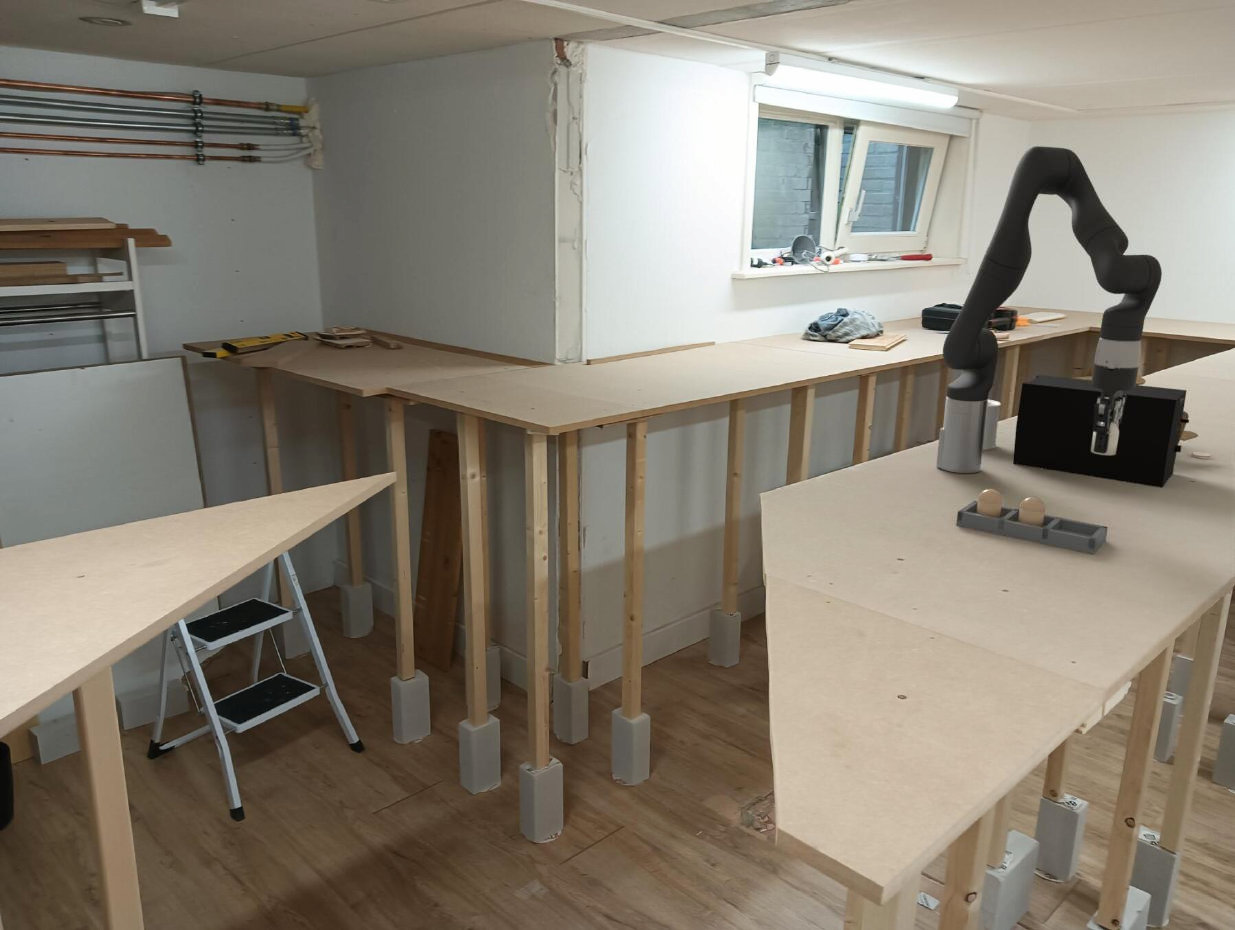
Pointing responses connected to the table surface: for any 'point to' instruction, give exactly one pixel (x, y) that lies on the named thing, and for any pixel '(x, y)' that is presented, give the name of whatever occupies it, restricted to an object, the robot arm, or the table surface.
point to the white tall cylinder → (991, 425)
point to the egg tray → (1037, 529)
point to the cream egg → (1112, 440)
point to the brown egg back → (989, 503)
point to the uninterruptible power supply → (1063, 431)
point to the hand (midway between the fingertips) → (1103, 449)
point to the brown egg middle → (1032, 511)
